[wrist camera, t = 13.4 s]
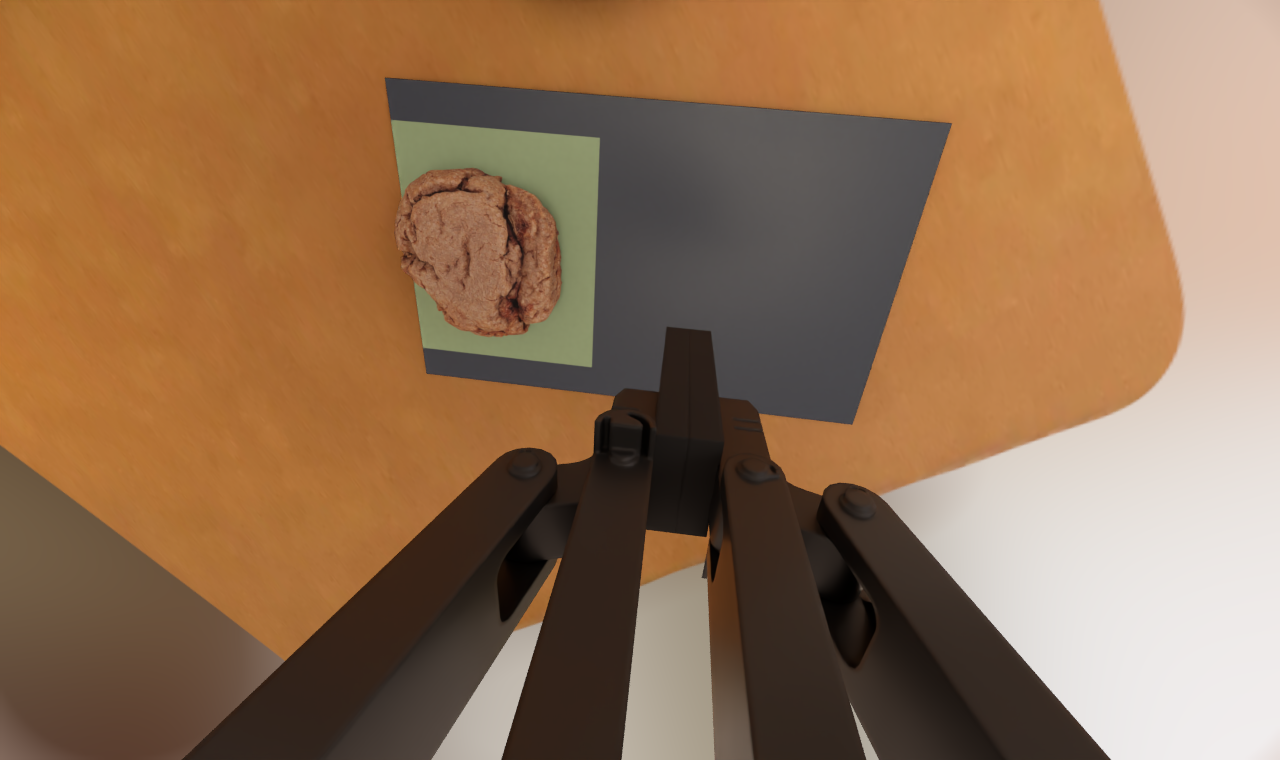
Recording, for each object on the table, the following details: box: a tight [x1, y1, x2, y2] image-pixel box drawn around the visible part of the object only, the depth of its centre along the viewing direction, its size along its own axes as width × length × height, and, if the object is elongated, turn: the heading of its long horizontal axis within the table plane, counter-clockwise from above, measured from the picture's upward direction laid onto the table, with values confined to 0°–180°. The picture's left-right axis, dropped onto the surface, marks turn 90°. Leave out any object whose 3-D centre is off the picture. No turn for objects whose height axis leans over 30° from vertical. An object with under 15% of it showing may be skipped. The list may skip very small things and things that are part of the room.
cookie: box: [394, 168, 562, 337], centre depth 28 cm, size 10×11×3 cm
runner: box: [385, 78, 952, 424], centre depth 29 cm, size 18×30×1 cm, turn 86°
